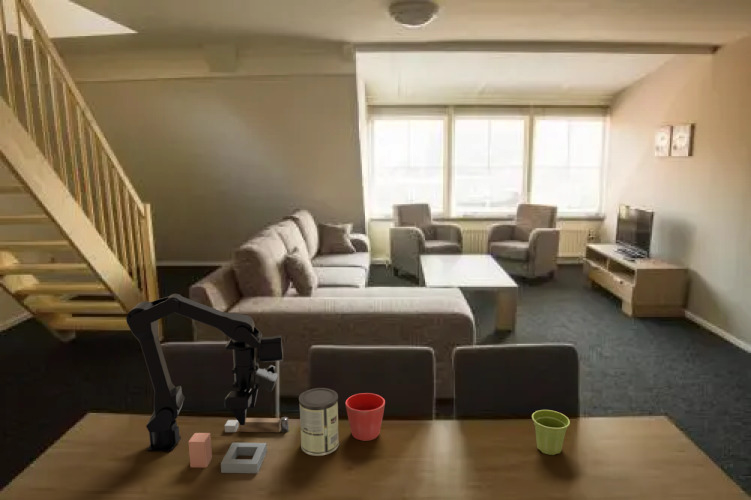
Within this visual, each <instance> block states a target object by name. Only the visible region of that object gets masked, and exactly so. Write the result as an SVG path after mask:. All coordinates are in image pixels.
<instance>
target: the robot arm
mask: <svg viewBox="0 0 751 500" xmlns="http://www.w3.org/2000/svg"><path fill="white" fill-rule="evenodd" d="M172 314H177V315H180V316H183V317H186V318H188V319H191V320H193V321H195V322H199V323H201V324H203V325H204V324H205V325H207V326H208V327H209V326H210V327H213V328H215V329H217V330H218V331H220V332H221V333H223V334H224V336H226V337H228V338H230V340H229V341H227V342H226V344H225V347H224V350H226V351H228V350H229V351H231V350H232V356H233V359H232V360H233V367H232V368H231V374H233V376H234V381H233V382H232V389H233V388H234V389H237V390H231V391H230V392H229V393H227V395H226V396H225V398H224V399H223V405H224V408H225V409H227V410H229V411H230V412H231V413H232V414H233V416H234V417H235V420H238V422H239V426H240V425H245V420H246V418H247V411H248V409H249V408H251V409H254V408H255V405H256V402H257V397H258V391H259V389H262V390H265V391H267V392H272V391H273V390H274V388H275V386H276V383H277V380H278V377H279V373H278V372H277V369H276V366H274V365H272V364H270V365H269V366H268V367H267V368H264V367H263V368H262V367H261V368H260V364H259V362H262V363H269V362H271V363H272V362H283V361H284V344H283V342H282V341H283V340H282V335H281V334H279V335H273V336H263V333H262V332H261V331H260V330H259V328H257V327H256V326H255V321H254V319H253V318H252V317H251V316H249V315H247V314H243V313H237V312H225V311H222V310H219V309H217V308H214V307H211V306H208V305H205V304H203V303H200V302H197V301H194V300H193V299H189V298H187V297H184V296H182V295H181V294H178V293H172V294H170V295H169V296H165V297H162V298H158V299H156V300H155V299H154V300H152V301H141V302H139V303H137V304H136V305H135V306H133V308H131V310H130V311H128V313H127V314H126V318H125V322H126V324H127V326H128V328H129V330H130V332H131V334H132V335H133V336H134V337H135V339H136V340H138V342H139V344H140V347H141V351H142V354H143V357H144V361H145V365H146V368H147V370H148V374H149V377H150V382H151V384H152V388H153V391H154V395H153V412H152V415H151V416H150V418H149V420H148V422H147V424H146V429H147V431H148V434H149V444H150V445H149V446H148V447H147V451H148V452H150V451H151V452H171V451H172V450H173V449H174V448H175V446H176V445H177V444H178V443H179V442H180V440H181V438H182V436H181V435H180V426H178V423H177V420H176V419H177V418H178V416H179V414H180V412H181V409H182V407H183V403H184V401H185V398H186V397H185V396H184V394H183V392H182V390H183V389H182V385H178V386H175V384H174V383H173V382H172V380H171V379H172V378H171V376H170V373H169V372H170V371H169V370H168V365H167V362H166V358H165V356H164V352H163V348H162V344H161V342H160V337H159V334H158V331H159V320H161V319H162V318H164V317H166V316H168V315H172ZM256 350H257V351H256ZM256 352H257V353H256ZM256 355H257V359H259V362H256ZM238 390H239V391H238Z"/></svg>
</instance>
